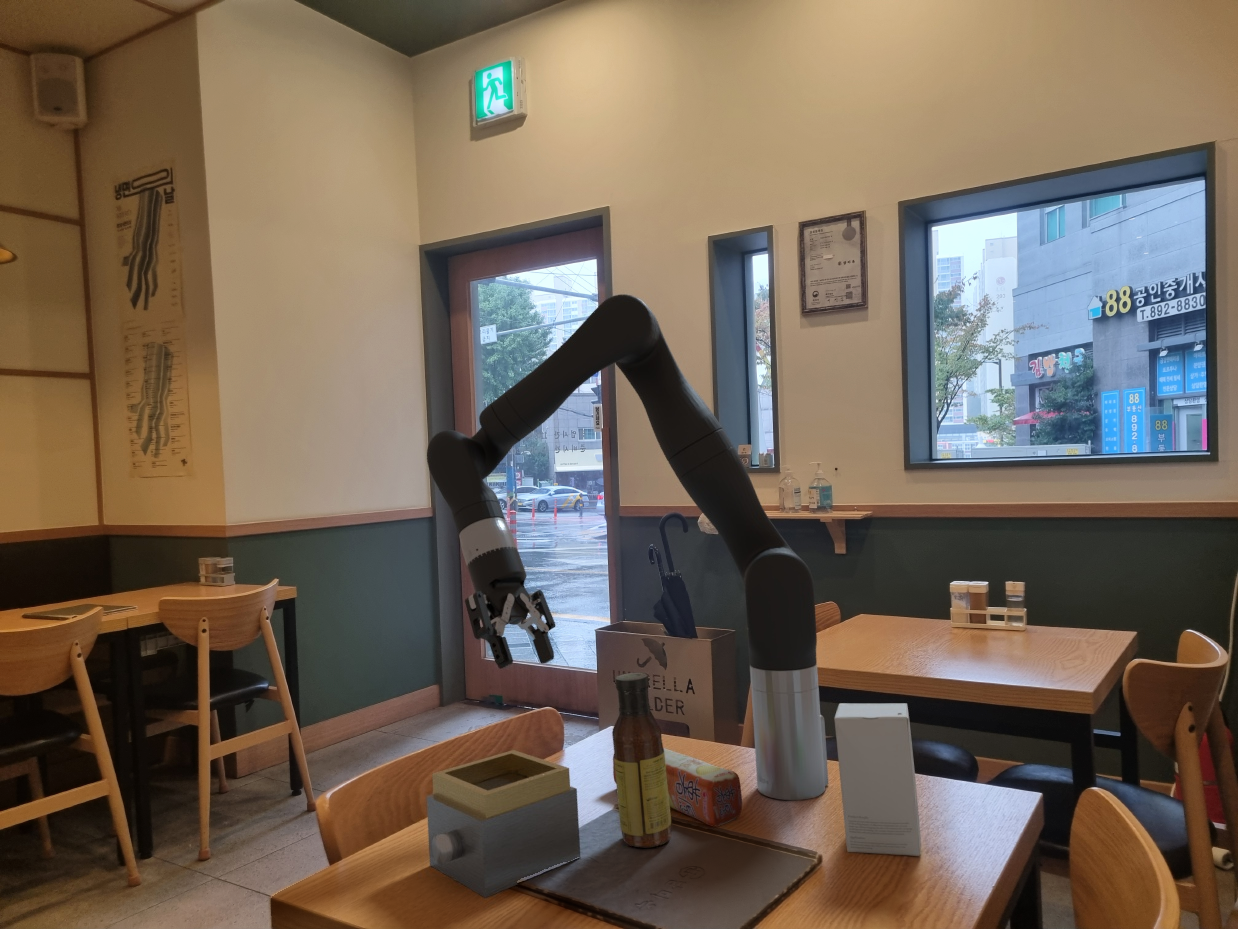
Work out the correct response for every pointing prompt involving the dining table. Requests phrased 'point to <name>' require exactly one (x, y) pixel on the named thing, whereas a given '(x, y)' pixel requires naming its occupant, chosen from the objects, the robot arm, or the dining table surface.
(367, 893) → the dining table surface
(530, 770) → the box
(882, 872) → the dining table surface
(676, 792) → the snack package
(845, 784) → the skincare box
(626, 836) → the sauce bottle
